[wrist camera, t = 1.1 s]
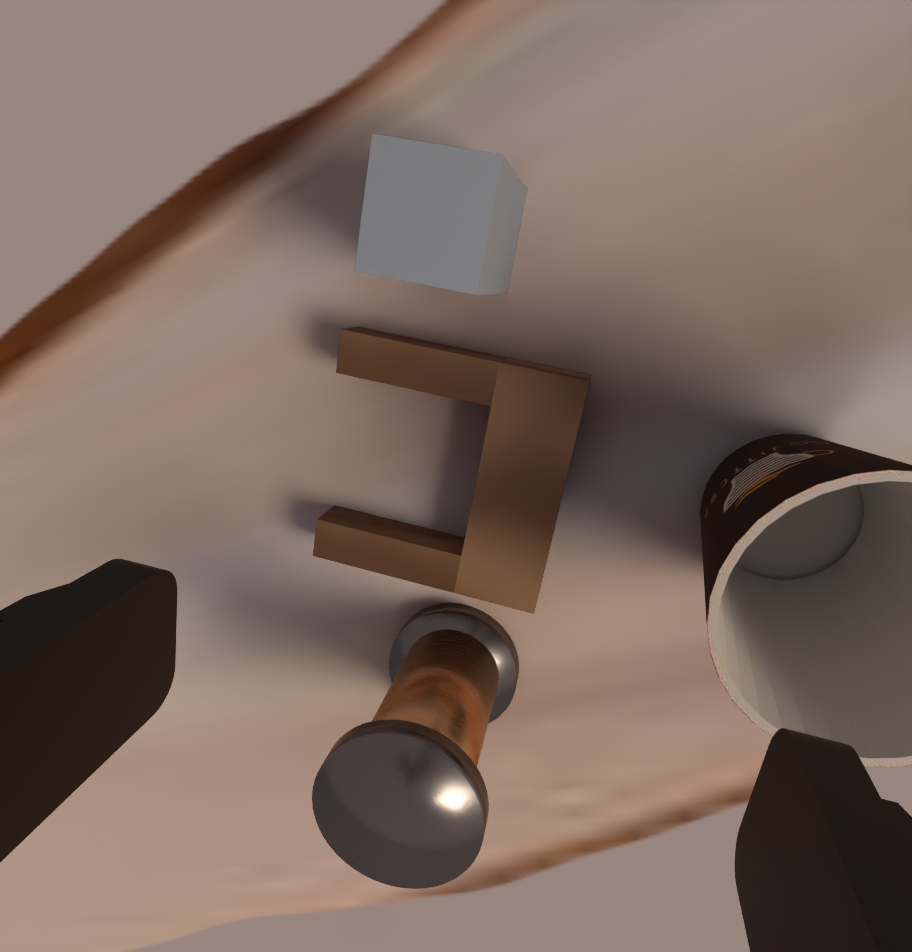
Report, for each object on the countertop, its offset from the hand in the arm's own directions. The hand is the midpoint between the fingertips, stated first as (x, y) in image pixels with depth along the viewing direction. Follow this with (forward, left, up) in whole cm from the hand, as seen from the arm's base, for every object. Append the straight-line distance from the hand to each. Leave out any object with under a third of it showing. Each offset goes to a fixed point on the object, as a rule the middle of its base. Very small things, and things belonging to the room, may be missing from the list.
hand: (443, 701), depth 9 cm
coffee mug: (+1, +11, -21) cm, 24 cm away
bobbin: (+12, -2, -21) cm, 24 cm away
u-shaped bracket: (+3, -4, -21) cm, 21 cm away
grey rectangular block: (-7, -5, -21) cm, 22 cm away
